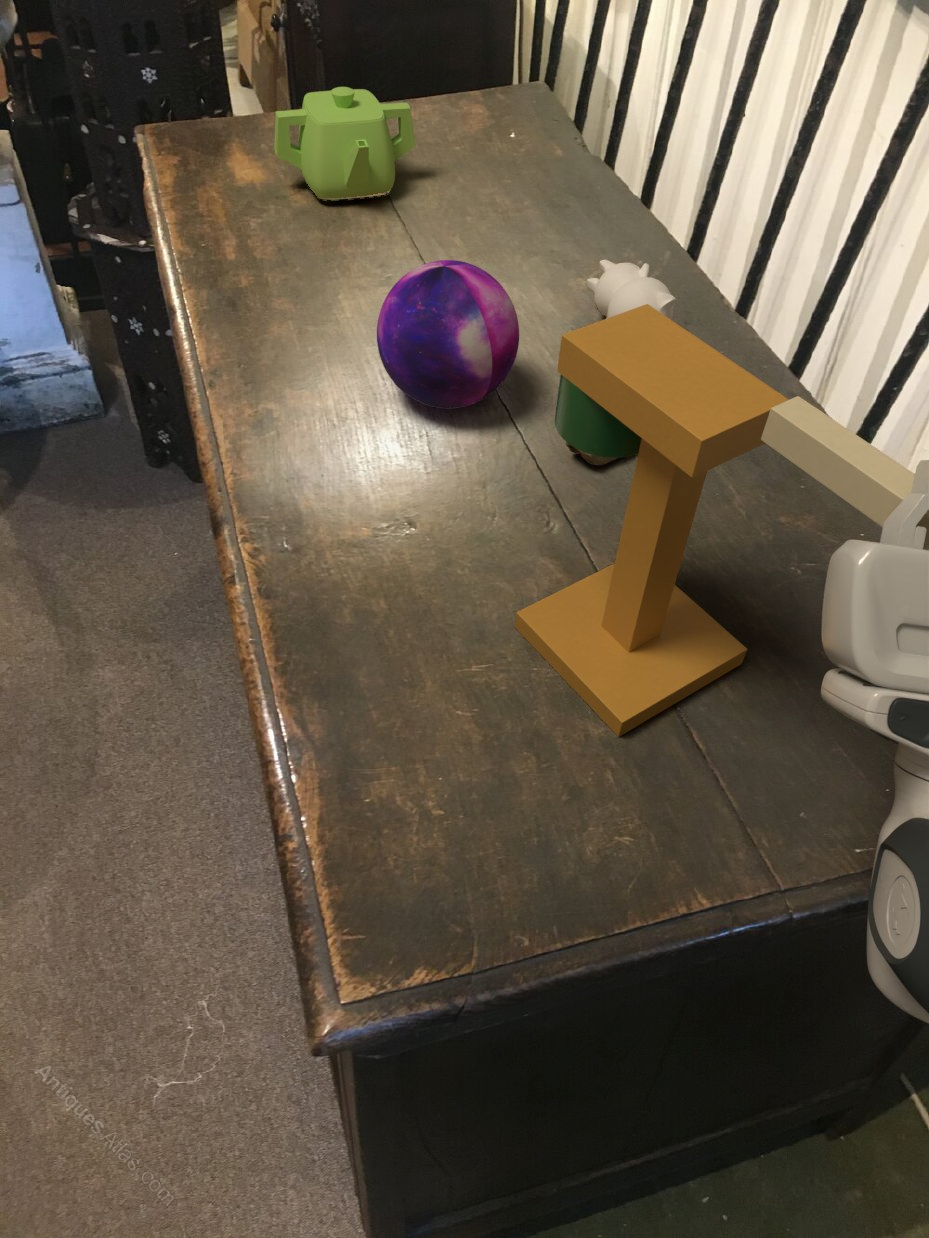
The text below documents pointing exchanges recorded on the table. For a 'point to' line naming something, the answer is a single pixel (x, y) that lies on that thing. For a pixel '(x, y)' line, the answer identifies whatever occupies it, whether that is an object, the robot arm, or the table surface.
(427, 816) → the table surface
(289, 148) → the teapot
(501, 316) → the decorative orb
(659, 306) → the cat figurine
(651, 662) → the desk lamp
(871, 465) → the switch rod
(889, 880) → the robot arm
